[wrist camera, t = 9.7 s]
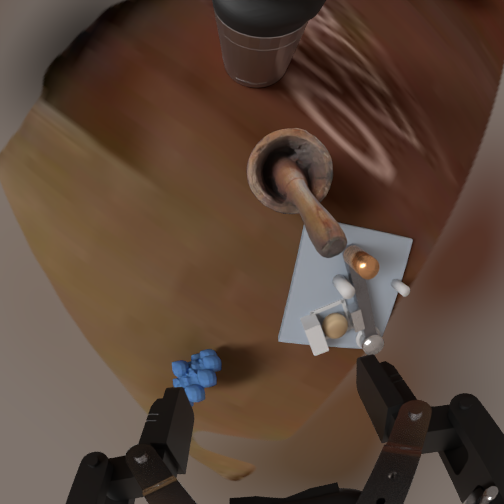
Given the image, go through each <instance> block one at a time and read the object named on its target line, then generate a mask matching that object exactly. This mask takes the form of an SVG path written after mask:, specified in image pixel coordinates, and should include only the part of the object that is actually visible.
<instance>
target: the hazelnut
mask: <svg viewBox="0 0 504 504" xmlns="http://www.w3.org/2000/svg"><path fill="white" fill-rule="evenodd" d="M322 329H323V332H324V334H325V335H326V336H327V337H329V338H332V339H337V338H340V337H342V336H343V335H344V334H345V333H346V331H347V329H348V322H347V320H346V318H345V317H344V316H343V315H342V314H339V313H331V314H329V315H328V316H326V317H325V319H324V320H323V323H322Z"/></svg>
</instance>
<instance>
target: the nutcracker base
mask: <svg viewBox="0 0 504 504" xmlns="http://www.w3.org/2000/svg"><path fill="white" fill-rule="evenodd" d="M337 223H338V224H339V225H340V227H341V228H342V230H343V232H344V233H345V236H346V238H347V245H349V244H352V243H354V244H355V245H356V246H358V247H359V248H361V249H362V250H364V251H365V252H366V253H368V254H369V255H371V256H372V257H374V258H375V259H376V260H377V261H378V262H379V266H380V268H379V272H378V274H377V275H376V276H375V277H374V278H372V279H368V280H367V279H366V284H367V288H368V293H369V297H370V302H371V307H372V311H373V316H374V321H375V327H376V331H377V332H378V333H379V335H380V336H381V337H382V336H383V333H384V331H385V328H386V325H387V323H388V320H389V317H390V314H391V311H392V308H393V305H394V303H395V300H396V296H397V293H398V292H399V293H400V294H401V295H402V296H404V297H405V296H407V295H409V293H410V288H409V287H408V286H406V285H405V284H404V283H403V282H401V281H402V277H403V274H404V271H405V267H406V264H407V260H408V256H409V253H410V249H411V245H412V241H413V239H411V238H408V237H403V236H399V235H395V234H390V233H386V232H381V231H377V230H372V229H368V228H363V227H358V226H353V225H349V224H344V223H339V222H337ZM354 294H355V288H354V287H353V286H352V285H351V284H350V281H349V277H348V273H347V269H346V266H345V262H344V258H343V255H342V253H340V254H339V255H337V256H334V257H332V258H325V257H322V256H321V255H320V254H319V253H318V252H317V251H316V249H315V247H314V245H313V244H312V242H311V240H310V238H309V236H308V233H307V231H306V228H305V225H304V227H303V231H302V236H301V241H300V246H299V250H298V255H297V259H296V264H295V268H294V273H293V277H292V282H291V286H290V290H289V295H288V299H287V303H286V307H285V312H284V316H283V320H282V324H281V328H280V332H279V336H278V340H279V342H287V343H297V344H307V345H310V346H311V349H312V351H313V354H314V356H316V355H319V354H321V353H324V352H326V351H329V349H328V346H330V347H343V348H359V349H362V347H361V345H360V343H359V339H360V336H361V335H362V331H359V332H356V333H355V331H354V330H353V328H352V327H351V325H350V322H349V318H348V314H347V310H346V307H345V306H346V305H348V304H351V303H353V302H355V301H354V297H353V296H354ZM331 313H339V314H342V315H343V316H344V317H345V318H346V320H347V322H348V329H347V331H346V333H345V334H344V335H343V336H342V337H340V338H337V339H332V338H329V337H327V336H326V335H325V334H324V332H323V329H322V323H323V320H324V319H325V317H326V316H328V315H329V314H331Z"/></svg>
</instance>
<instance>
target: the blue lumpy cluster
mask: <svg viewBox="0 0 504 504" xmlns="http://www.w3.org/2000/svg"><path fill="white" fill-rule="evenodd" d="M191 360H192V361H191V362H186V361H183V360H180V361H175V362H172V369H173V373H174V375H175V376H177V377H178V378H176V379H173V385H174V387H183V388H184V390H185V392H186V395H187V397H188V400H189V402H190V404H191V407H192V406H193V402H200V401H202V400H205V391H204V388H205V387H211V386H214V385H216V384H217V377H216V374H215V372H217V371H219V370H221V359H220V358H219V357H218V356H217V353H216V352H215V351H214V350H212V349H206V350H203V351H200V353H198V354H194V355H191Z"/></svg>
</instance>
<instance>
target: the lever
mask: <svg viewBox="0 0 504 504" xmlns="http://www.w3.org/2000/svg"><path fill="white" fill-rule="evenodd" d="M342 255H343V258H344V262H345V266H346V269H347V273H348V277H349V281H350V284H351V285H352V286H353V287H354V288H355V294H354V296H353V297H354V301H355V302H353V303H351V304H348V305H346V306H345V307H346V310H347V314H348V318H349V322H350V325H351V327H352V328H353V330H354V331H355V333H356V332H359V331H362V335H361V336H360V339H359V343H360V345H361V347H362V349H363V350H364V352H365V353H366V354H367V355H370V354H374V355H375V354H377V353H378V352H380V350H382V348H383V346H384V340H383V339H382V337H381V336H380V335H379V333H378V332H377V331H376V327H375V321H374V316H373V311H372V307H371V302H370V297H369V293H368V288H367V284H366V279H367V280H368V279H372V278H374V277H375V276H376V275H377V274H378V272H379V268H380V266H379V262H378V261H377V260H376V259H375V258H374V257H372V256H371V255H369V254H368V253H366V252H365V251H364V250H362V249H361V248H359V247H358V246H356V245H355V244H354V243H352V244H349V245H347V246H346V248H345V249H344V251H343V252H342Z"/></svg>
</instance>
